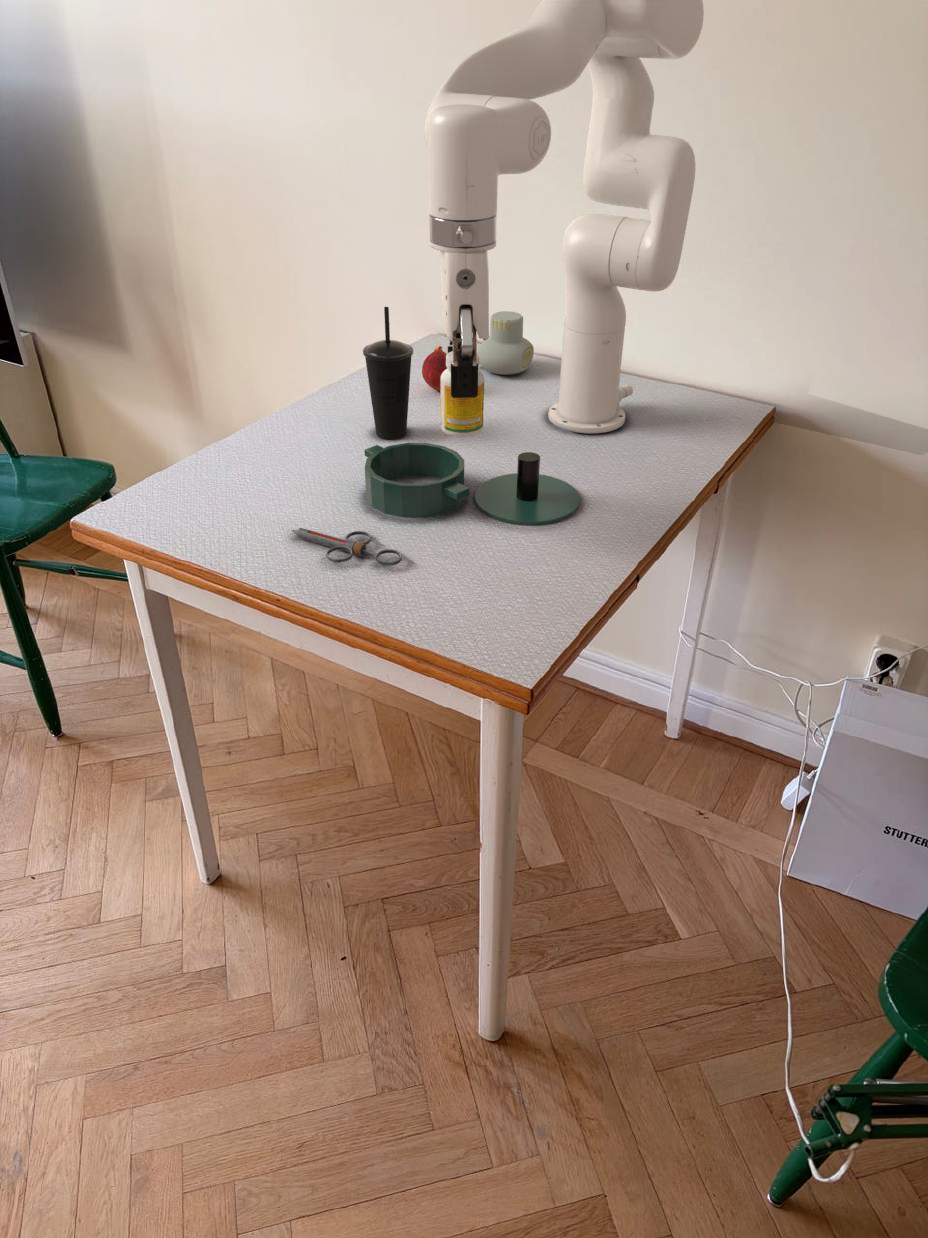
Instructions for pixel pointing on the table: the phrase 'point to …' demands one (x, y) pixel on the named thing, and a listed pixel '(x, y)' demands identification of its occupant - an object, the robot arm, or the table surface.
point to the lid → (527, 495)
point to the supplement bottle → (460, 406)
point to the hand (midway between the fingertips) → (462, 385)
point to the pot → (414, 496)
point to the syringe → (344, 545)
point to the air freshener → (506, 345)
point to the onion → (434, 368)
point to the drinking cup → (389, 383)
